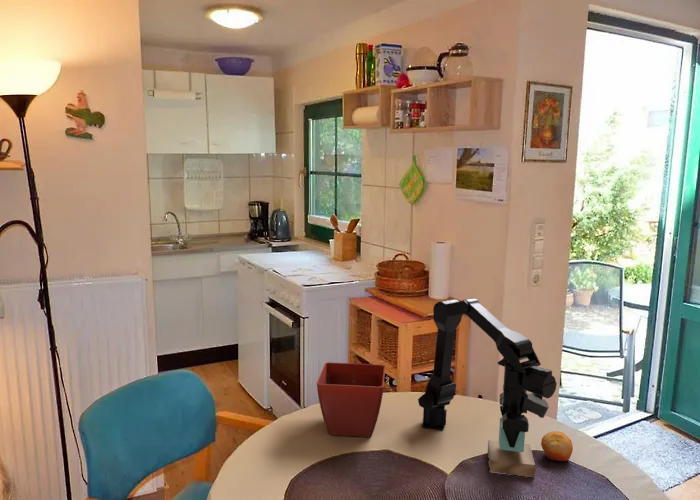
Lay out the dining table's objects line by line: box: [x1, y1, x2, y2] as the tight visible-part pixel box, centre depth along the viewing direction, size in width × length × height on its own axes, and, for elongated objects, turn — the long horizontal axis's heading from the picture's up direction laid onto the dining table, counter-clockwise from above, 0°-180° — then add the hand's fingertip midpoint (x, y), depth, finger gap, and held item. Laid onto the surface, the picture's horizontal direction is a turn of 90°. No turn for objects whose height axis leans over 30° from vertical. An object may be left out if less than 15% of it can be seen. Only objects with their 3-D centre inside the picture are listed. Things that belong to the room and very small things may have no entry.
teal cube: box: [498, 417, 526, 452], centre depth 147 cm, size 6×6×6 cm
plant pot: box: [316, 362, 387, 438], centre depth 168 cm, size 19×19×17 cm
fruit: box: [540, 430, 574, 462], centre depth 153 cm, size 8×8×8 cm
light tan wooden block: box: [487, 440, 536, 478], centre depth 148 cm, size 11×11×4 cm
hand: (511, 441), depth 148 cm, fingers closed on teal cube, 6 cm apart
